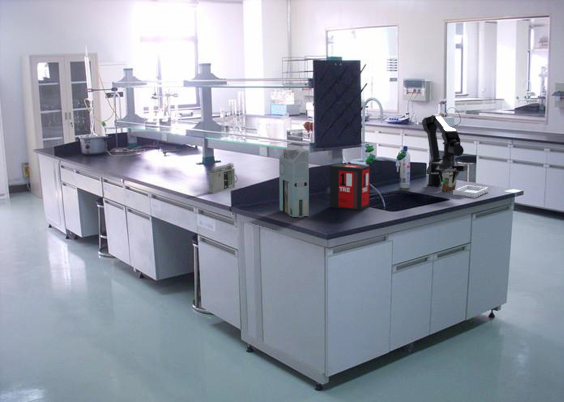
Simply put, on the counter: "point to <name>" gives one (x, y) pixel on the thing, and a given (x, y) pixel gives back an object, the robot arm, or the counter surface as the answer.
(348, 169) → the cleaning product box
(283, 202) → the device
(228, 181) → the geiger counter
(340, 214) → the counter surface
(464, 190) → the tray
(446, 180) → the food container
